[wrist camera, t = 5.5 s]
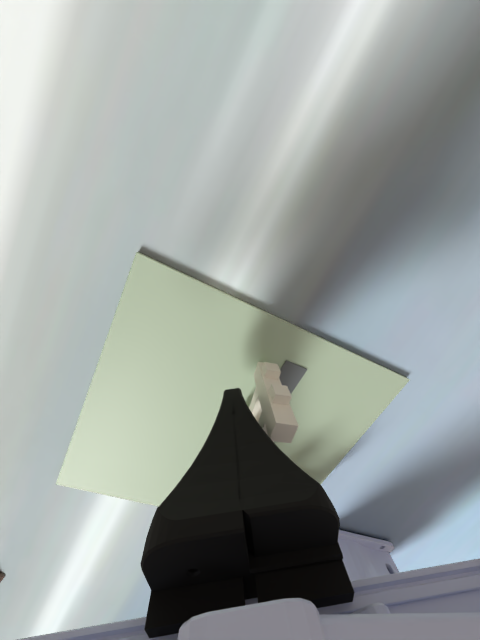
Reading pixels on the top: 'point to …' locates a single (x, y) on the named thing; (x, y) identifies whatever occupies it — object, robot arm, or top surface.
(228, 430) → the robot arm
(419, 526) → the top surface
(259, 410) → the folding fence panel
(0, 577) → the stuffed animal
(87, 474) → the card
